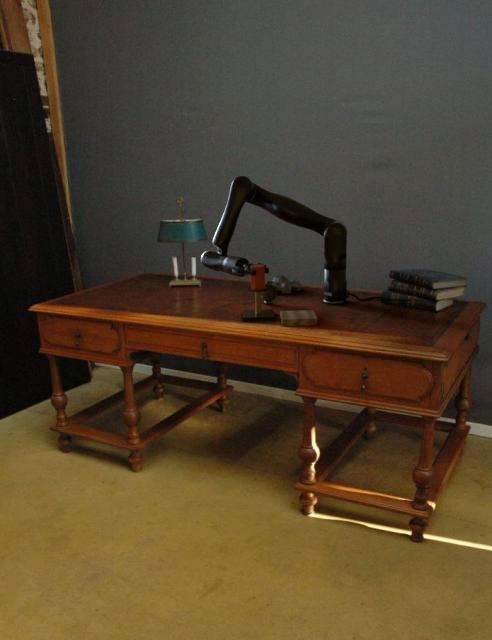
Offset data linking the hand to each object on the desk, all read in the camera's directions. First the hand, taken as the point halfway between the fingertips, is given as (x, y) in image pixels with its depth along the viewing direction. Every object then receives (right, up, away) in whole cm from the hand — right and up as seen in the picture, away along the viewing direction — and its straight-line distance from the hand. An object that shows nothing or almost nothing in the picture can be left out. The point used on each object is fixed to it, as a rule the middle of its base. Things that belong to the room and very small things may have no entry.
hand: (261, 271), depth 250 cm
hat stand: (-1, -16, +9) cm, 18 cm away
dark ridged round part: (+3, -8, +28) cm, 30 cm away
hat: (-1, -6, +4) cm, 8 cm away
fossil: (+10, +1, +52) cm, 53 cm away
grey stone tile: (+14, -18, +2) cm, 23 cm away
